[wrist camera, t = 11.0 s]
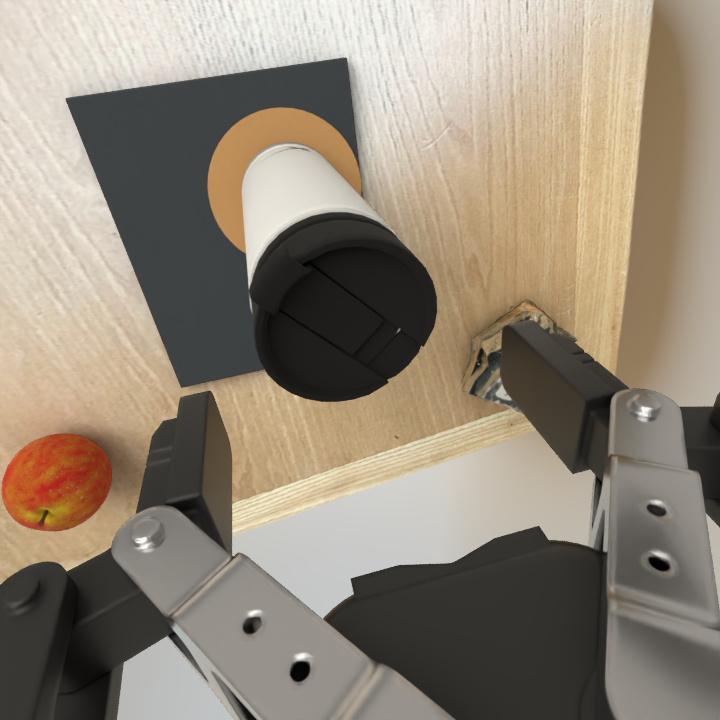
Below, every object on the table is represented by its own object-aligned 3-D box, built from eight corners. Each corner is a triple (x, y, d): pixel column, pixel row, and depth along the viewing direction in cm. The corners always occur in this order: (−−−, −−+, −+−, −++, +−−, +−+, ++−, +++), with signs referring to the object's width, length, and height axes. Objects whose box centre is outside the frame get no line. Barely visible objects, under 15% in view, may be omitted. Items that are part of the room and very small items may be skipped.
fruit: (108, 487, 42) (85, 567, 35) (15, 472, 39) (-29, 556, 32) (129, 426, 39) (108, 501, 33) (31, 406, 36) (-14, 482, 30)
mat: (68, 97, 27) (64, 98, 27) (344, 57, 29) (347, 57, 29) (181, 382, 38) (180, 388, 37) (376, 339, 40) (379, 344, 39)
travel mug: (276, 113, 29) (335, 184, 13) (355, 186, 32) (485, 318, 16) (216, 196, 31) (199, 354, 14) (297, 257, 34) (360, 443, 18)
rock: (569, 324, 44) (610, 356, 39) (505, 402, 47) (536, 439, 42) (504, 283, 40) (540, 313, 35) (439, 371, 43) (464, 408, 39)
